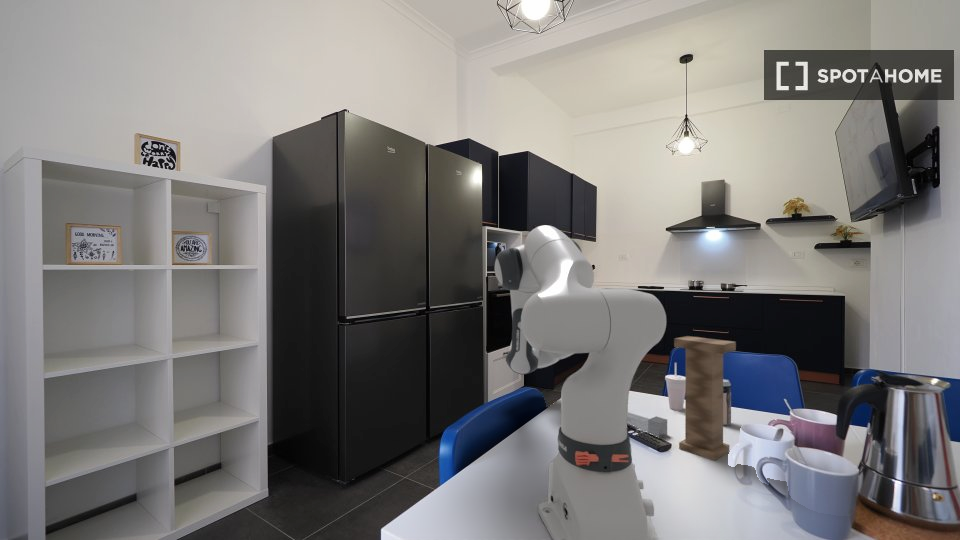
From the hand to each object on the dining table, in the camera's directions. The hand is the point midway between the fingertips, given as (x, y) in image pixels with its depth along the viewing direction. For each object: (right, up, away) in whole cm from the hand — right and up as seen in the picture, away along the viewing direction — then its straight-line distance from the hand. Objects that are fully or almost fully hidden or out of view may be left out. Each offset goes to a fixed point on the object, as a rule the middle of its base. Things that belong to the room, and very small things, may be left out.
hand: (597, 324), depth 121 cm
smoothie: (+26, -27, +6) cm, 38 cm away
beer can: (+33, -27, -6) cm, 43 cm away
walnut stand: (+18, -27, -24) cm, 40 cm away
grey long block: (+7, -27, -9) cm, 29 cm away
